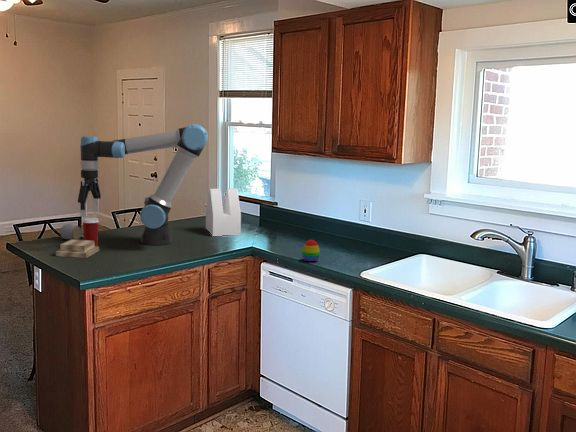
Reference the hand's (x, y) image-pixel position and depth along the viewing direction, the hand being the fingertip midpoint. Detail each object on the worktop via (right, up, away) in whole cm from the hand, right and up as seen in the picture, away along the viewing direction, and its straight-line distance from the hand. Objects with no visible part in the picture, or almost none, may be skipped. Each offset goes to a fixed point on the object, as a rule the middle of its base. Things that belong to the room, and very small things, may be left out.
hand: (89, 214), depth 265 cm
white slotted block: (+57, -10, +50) cm, 76 cm away
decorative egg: (+104, -22, -5) cm, 107 cm away
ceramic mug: (-15, -13, +19) cm, 27 cm away
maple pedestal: (-2, -18, -9) cm, 20 cm away
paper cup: (0, -16, +3) cm, 16 cm away
